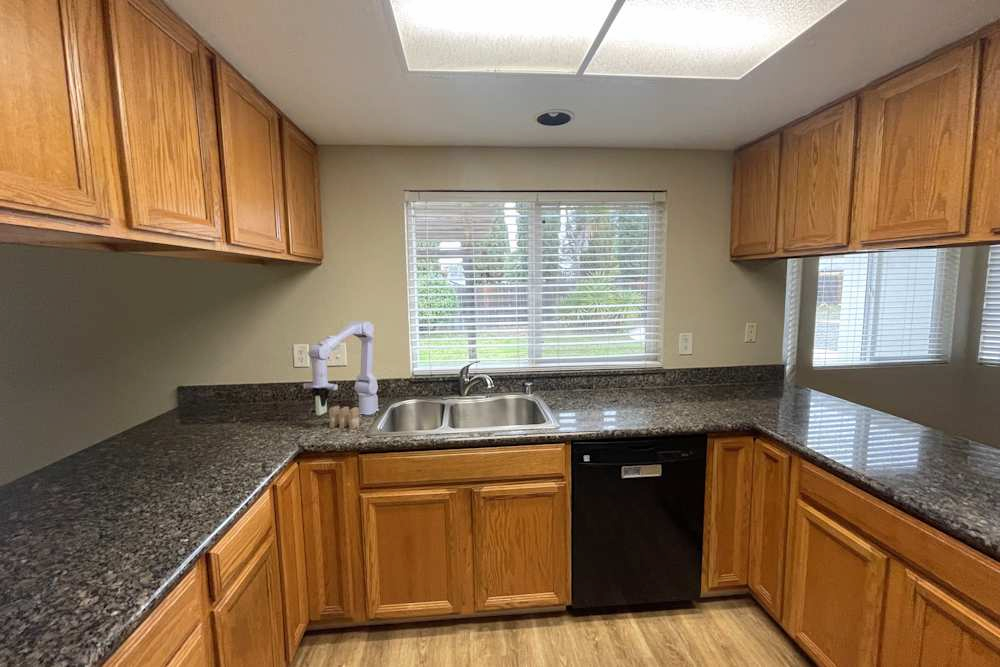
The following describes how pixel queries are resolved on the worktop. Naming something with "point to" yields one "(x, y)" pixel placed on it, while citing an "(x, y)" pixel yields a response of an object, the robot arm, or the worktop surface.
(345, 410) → the domino
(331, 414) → the domino
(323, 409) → the domino
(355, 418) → the domino
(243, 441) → the worktop surface
